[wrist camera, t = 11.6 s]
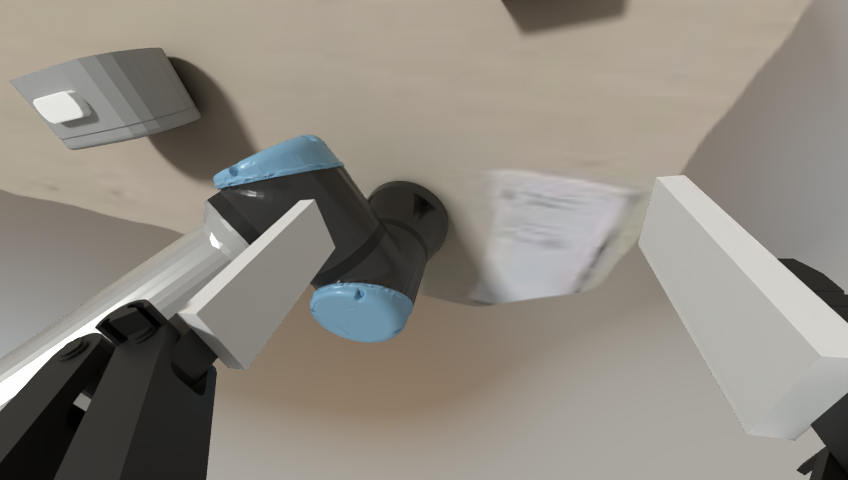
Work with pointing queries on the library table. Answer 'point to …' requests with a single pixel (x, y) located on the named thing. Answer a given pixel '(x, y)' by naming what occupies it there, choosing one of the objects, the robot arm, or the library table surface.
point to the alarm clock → (109, 97)
